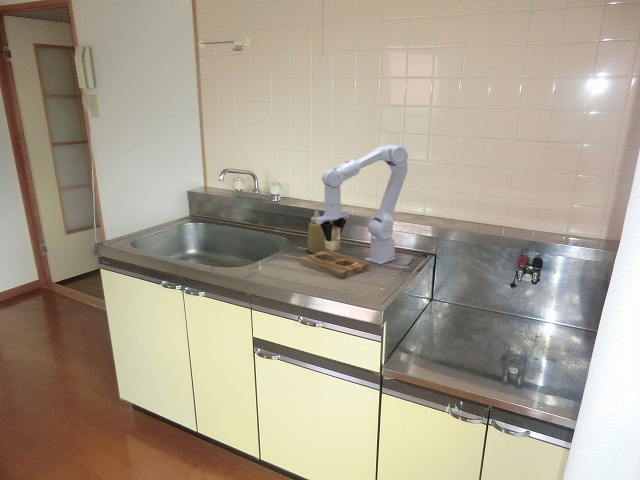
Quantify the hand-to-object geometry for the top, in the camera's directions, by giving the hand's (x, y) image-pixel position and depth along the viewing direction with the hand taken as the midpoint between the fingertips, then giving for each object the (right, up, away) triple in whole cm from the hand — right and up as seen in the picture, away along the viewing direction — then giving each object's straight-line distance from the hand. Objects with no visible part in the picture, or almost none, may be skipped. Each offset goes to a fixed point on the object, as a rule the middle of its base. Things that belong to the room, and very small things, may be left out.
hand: (332, 239), depth 174 cm
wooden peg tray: (0, -10, +2) cm, 10 cm away
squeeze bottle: (-6, -5, +21) cm, 22 cm away
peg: (0, -3, +1) cm, 4 cm away
